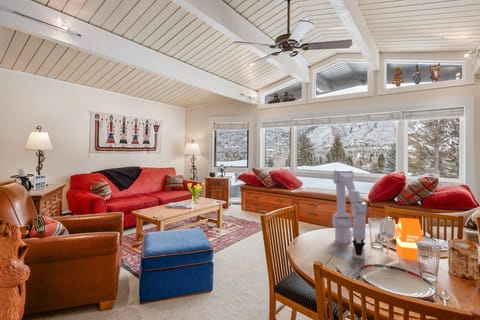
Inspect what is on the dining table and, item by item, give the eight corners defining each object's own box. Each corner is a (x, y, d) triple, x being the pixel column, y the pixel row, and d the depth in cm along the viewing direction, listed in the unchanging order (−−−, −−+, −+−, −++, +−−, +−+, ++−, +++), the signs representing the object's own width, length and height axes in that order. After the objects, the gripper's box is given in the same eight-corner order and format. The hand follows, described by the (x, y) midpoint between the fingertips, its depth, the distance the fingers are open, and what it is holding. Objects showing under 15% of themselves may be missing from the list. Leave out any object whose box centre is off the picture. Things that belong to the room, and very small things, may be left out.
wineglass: (393, 254, 127) (394, 217, 126) (398, 260, 119) (399, 220, 119) (377, 252, 129) (378, 215, 129) (380, 258, 122) (381, 219, 122)
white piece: (352, 253, 125) (352, 243, 125) (364, 255, 123) (364, 245, 122) (352, 256, 120) (352, 246, 120) (364, 259, 118) (364, 248, 118)
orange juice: (421, 260, 119) (422, 221, 119) (401, 258, 122) (402, 219, 121) (415, 254, 127) (415, 217, 126) (396, 252, 129) (396, 215, 129)
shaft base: (344, 248, 134) (344, 241, 134) (373, 259, 121) (373, 250, 121) (326, 254, 125) (326, 246, 125) (354, 266, 112) (355, 258, 112)
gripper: (351, 221, 129) (350, 246, 130) (349, 228, 116) (349, 256, 117) (365, 223, 126) (365, 248, 126) (366, 231, 113) (365, 259, 114)
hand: (358, 252), depth 121 cm, fingers open, 6 cm apart
